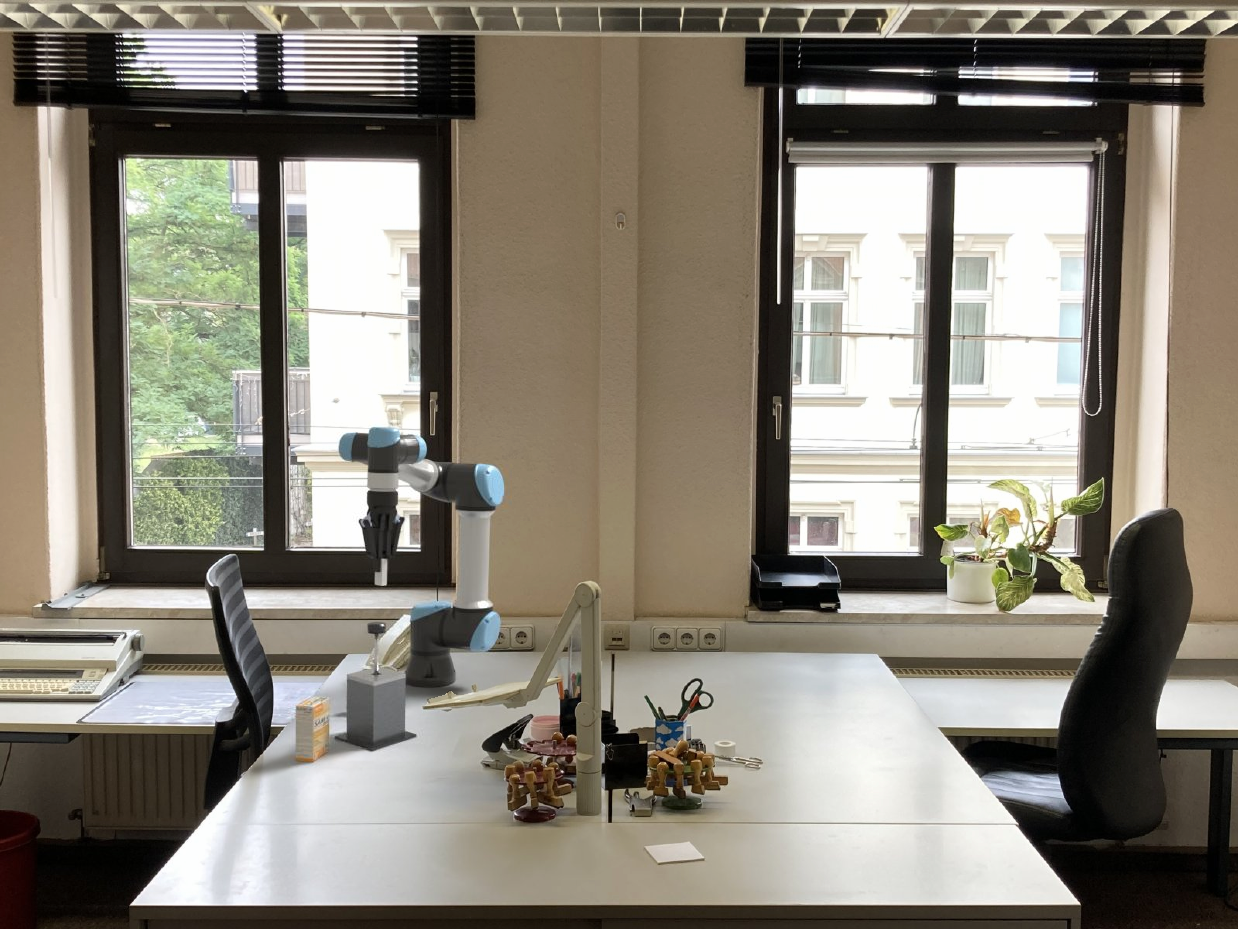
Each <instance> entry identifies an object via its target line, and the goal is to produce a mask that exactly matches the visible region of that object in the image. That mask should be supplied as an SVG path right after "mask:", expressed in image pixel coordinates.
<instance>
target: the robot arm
mask: <svg viewBox="0 0 1238 929" xmlns="http://www.w3.org/2000/svg"><path fill="white" fill-rule="evenodd" d="M427 448H428V447H427V444H426V442H425V440H424V438H422V437H421V436H420V435H417V434H413V433H412V434H400V429H399V428H397V427H390V426H388V427H387V426H384V427H383V426H382V427H381V426H373V427H370V428H369V429H368V433H367V432H356V431H355V432H346V433H344V434H343V435H342V436H341V437H340V439H339V441H338V449H337V450H338V453H339V457H340V458H341V459H342V460H344V461H346V462H351V463H355V462H357V463H361V464H362V465H366V466H367V478H366V480H367V482H366V483H367V484H366V487H367V488H368V489H369V490H367V491H366V505H367V507H368V509H367V511H366V515H365V517H363V518H359V519H358V524H359V526H360V528H361V531H362V532H361V533H362V538H363V543H364V548H365V550H364V551H365V553H366V557H368V558H370V559H372V560H373V563H372V565H373V566H372V570H373V572H374V585H376V586H380V587H381V586H382V587H383V586H387V584H388V583H387V582H388V571H389V569H390V560H391V559H392V558H393V556H395V555H396V554H397V550H398V546H399V541H400V537H401V531H402V526H403V524H404V522H405V520H406V518H405V516H401V515H400V514H399V513H398V510H397V506H398V505H399V492H398V490H397V489H399V481H402V482H405V483H406V484H408V485H409V487H411V489H412V490H414V491H415V492H418V493H419V494H422V495H425V496H427V497H429V498H432V499H433V500H434V499H435V500H438V501H440V502H445V503H451V504H452V503H453V504H454V506H455V507H454V511H456V513H457V514H458V515H459V547H458V549H459V551H458V554H459V556H458V587H457V591H458V592H457V599H456V600H454V602H453V603H452V604H451V602H450V601H448V600H436V601H434V600H433V601H428V602H422V603H418V604H415V605H414V606H412V608H411V611H410V620H409V622H410V624H409V625H410V626H409V627H410V630H409V631H410V632H409V634H410V636H409V640H410V641H409V642H410V645H409V646H410V648H409V649H410V650H409V653H410V654H409V658H408V661H407V665H406V669H405V670H404V672H403V673H405V674H406V682H405V684H407V685H409V686H413V687H420V688H434V687H436V688H437V687H442V686H447V685H451V684H454V682H456V680H457V671H456V669H455V666H454V663H453V662H454V661H453V659H452V656H451V649H455V650H463V651H470V652H473V653H475V652H480V653H481V652H482V653H483V652H484V653H485V652H487V651H489V650H491V649H492V648H493V646H494V645H495V643H496V642H497V640H498V637H499V635H500V632H501V631H500V630H501V623H502V622H501V618H500V615H499V613H498V612H496V611H494V603H493V602H492V601H491V600H490V599H489V571H490V567H489V566H490V537H491V535H490V533H491V531H490V530H491V516H492V515H493V514H495V513H496V510H497V508H496V507H497V506H499V505H500V504H501V503H502V502H503V501H504V500H503V498H504V496H505V485H504V484H505V483H504V478H503V476H502V474H501V472H500V469H498V468H497V467H496V466H494V465H492V464H484V463H468V462H467V463H466V462H464V463H463V462H462V463H461V462H449V461H448V462H446V461H445V462H441V461H439V462H438V461H432V460H430V459H427V458H426V456H427Z"/></svg>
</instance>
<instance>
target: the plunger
mask: <svg viewBox="0 0 1238 929" xmlns="http://www.w3.org/2000/svg"><path fill="white" fill-rule="evenodd" d="M386 625H387V623H386V622H383V621H370V622H368V623H367V629H366V630H367V631H366V632H367V634H370V635H371V634H372V635H374V639H373V640H374V642H373V643H374V644H373V646H374V648H373V649H374V653H373V656H374V657H373V658H374V659H373V660H374V662H373V665H374V666H373V668H374V675H378V667H379V654H380V653H379V651H380V649H379V648H380V646H379V641H380V640H379V638H380V637H379V636H380V635H381V634H385V633H386V631H387V627H386Z"/></svg>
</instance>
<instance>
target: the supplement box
mask: <svg viewBox="0 0 1238 929" xmlns="http://www.w3.org/2000/svg"><path fill="white" fill-rule="evenodd" d="M330 701H331V700H330V697H324V696H311V697H309V698H307V699H305V700H304V701H302V702H300V703H298V704H296V705H295V755H294V756H295V759H294V760H295V761H297V762H298V761H299V762H309V763H313V762H315V761H316V760H317V759H319V758H320V757H322V756H323V755H325V754H326V753H328V752H330V711H331V710H330V709H331V708H330V706H331V705H330V704H331V702H330Z"/></svg>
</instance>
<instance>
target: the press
mask: <svg viewBox="0 0 1238 929" xmlns="http://www.w3.org/2000/svg"><path fill="white" fill-rule="evenodd" d="M405 682H406V674H405V673H404V672H401V671H397V670H393V669H390V668H385V667H383V666H378V675H374V667H371V668H366V669H363V670H359V671H355V672H352V673H347V674H346V732H345V733H339V734H337V735H334V739H335V740H338V741H341V742H344V743H347V744H349V745H353V746H355V747H359V748H362V749H364V750H368V751H369V752H373V751H377V750H381V749H384V748H386V747H391V746H393V745H396V744H398V743H402V742H406V741H408V740H411V739H414V738H417V733H414V732H410V731H407V730H406V683H405Z"/></svg>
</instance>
